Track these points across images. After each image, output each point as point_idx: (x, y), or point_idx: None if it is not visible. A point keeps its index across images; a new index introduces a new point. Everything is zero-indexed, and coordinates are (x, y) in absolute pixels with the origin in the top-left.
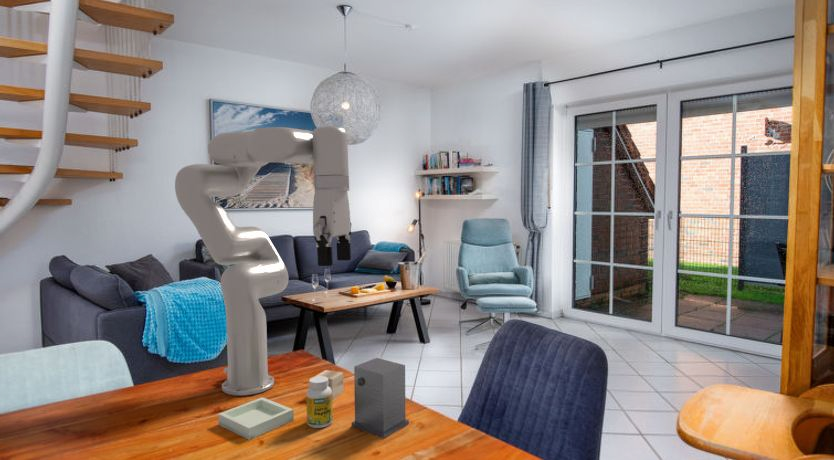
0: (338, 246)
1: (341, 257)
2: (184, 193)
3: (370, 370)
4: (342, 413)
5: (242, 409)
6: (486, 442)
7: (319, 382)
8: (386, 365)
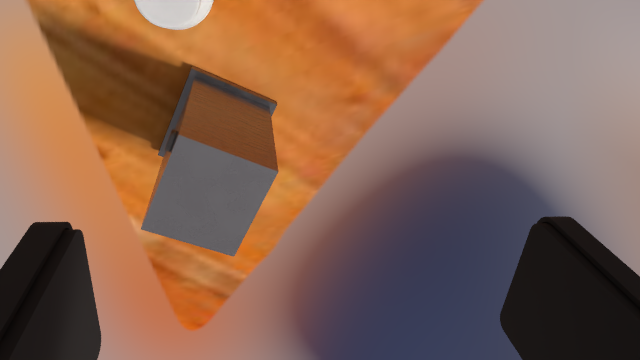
0: (633, 347)
1: (534, 274)
2: None
3: (161, 189)
4: (255, 16)
5: None
6: (206, 304)
7: (140, 10)
8: (216, 216)
